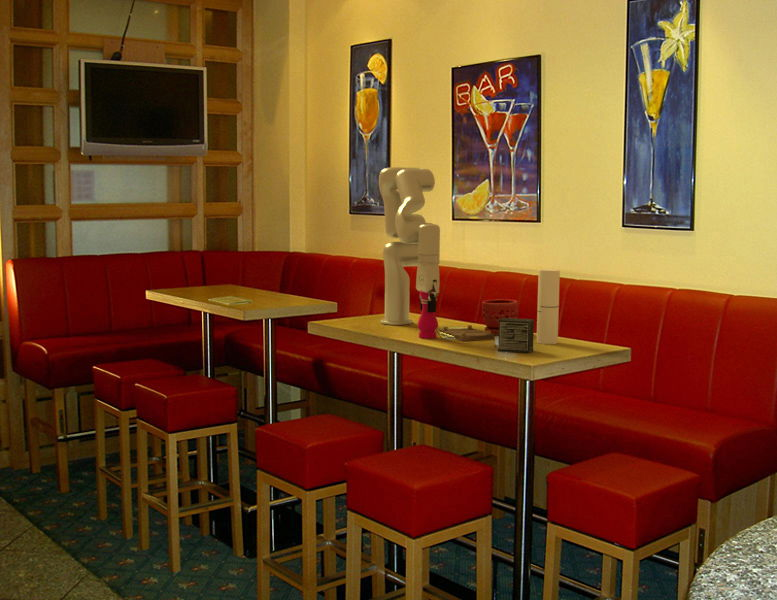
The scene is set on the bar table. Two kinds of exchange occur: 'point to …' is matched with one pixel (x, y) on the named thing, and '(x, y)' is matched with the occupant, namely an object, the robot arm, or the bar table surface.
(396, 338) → the bar table surface
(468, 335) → the serving board
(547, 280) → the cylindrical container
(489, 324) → the plant pot
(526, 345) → the small box
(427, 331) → the pepper mill
